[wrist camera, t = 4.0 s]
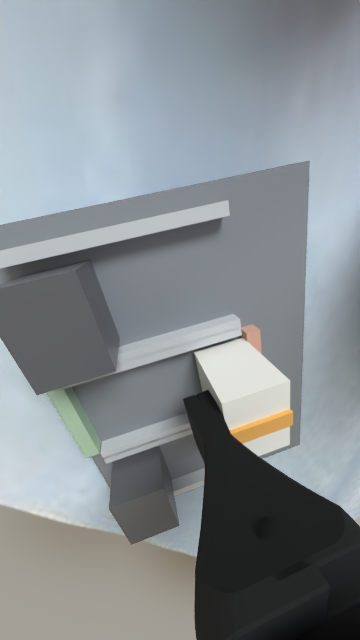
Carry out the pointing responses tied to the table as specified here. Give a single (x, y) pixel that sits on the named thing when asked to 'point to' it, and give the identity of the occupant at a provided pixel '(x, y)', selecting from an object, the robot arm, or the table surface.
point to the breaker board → (155, 320)
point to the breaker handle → (248, 394)
